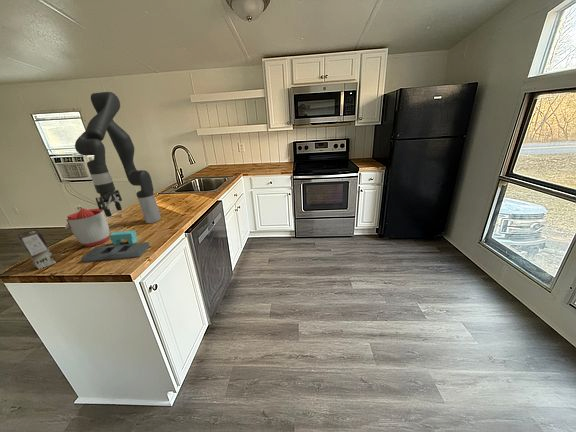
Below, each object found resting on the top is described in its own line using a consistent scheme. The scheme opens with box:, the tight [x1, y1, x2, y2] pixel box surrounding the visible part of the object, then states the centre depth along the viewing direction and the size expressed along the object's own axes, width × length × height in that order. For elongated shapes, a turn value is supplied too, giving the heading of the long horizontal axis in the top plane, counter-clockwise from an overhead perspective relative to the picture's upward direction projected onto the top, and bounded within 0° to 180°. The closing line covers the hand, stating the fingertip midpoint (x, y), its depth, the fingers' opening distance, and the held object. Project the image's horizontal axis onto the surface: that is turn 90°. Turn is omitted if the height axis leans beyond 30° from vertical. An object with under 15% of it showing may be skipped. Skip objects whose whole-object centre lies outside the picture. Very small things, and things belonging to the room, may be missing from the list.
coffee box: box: [16, 229, 57, 270], centre depth 106 cm, size 9×6×16 cm
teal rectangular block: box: [109, 229, 138, 245], centre depth 124 cm, size 4×11×6 cm, turn 94°
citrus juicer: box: [64, 207, 111, 248], centre depth 124 cm, size 16×17×20 cm
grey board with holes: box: [80, 241, 151, 263], centre depth 113 cm, size 10×26×2 cm, turn 94°
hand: (114, 213), depth 118 cm, fingers open, 8 cm apart
